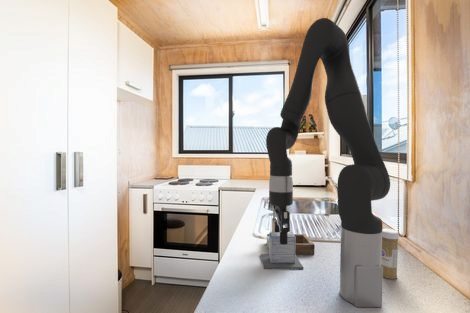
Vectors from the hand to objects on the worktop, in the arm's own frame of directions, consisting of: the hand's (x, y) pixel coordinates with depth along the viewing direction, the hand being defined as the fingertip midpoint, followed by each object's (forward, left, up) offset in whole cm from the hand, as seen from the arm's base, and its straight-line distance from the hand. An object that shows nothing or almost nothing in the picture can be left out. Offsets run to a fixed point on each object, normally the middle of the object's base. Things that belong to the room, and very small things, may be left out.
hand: (280, 239), depth 84 cm
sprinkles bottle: (-8, -30, -8) cm, 32 cm away
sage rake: (+13, 0, -7) cm, 15 cm away
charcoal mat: (+1, 0, -8) cm, 8 cm away
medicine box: (0, -1, -7) cm, 7 cm away
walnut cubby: (+13, -5, -8) cm, 16 cm away
